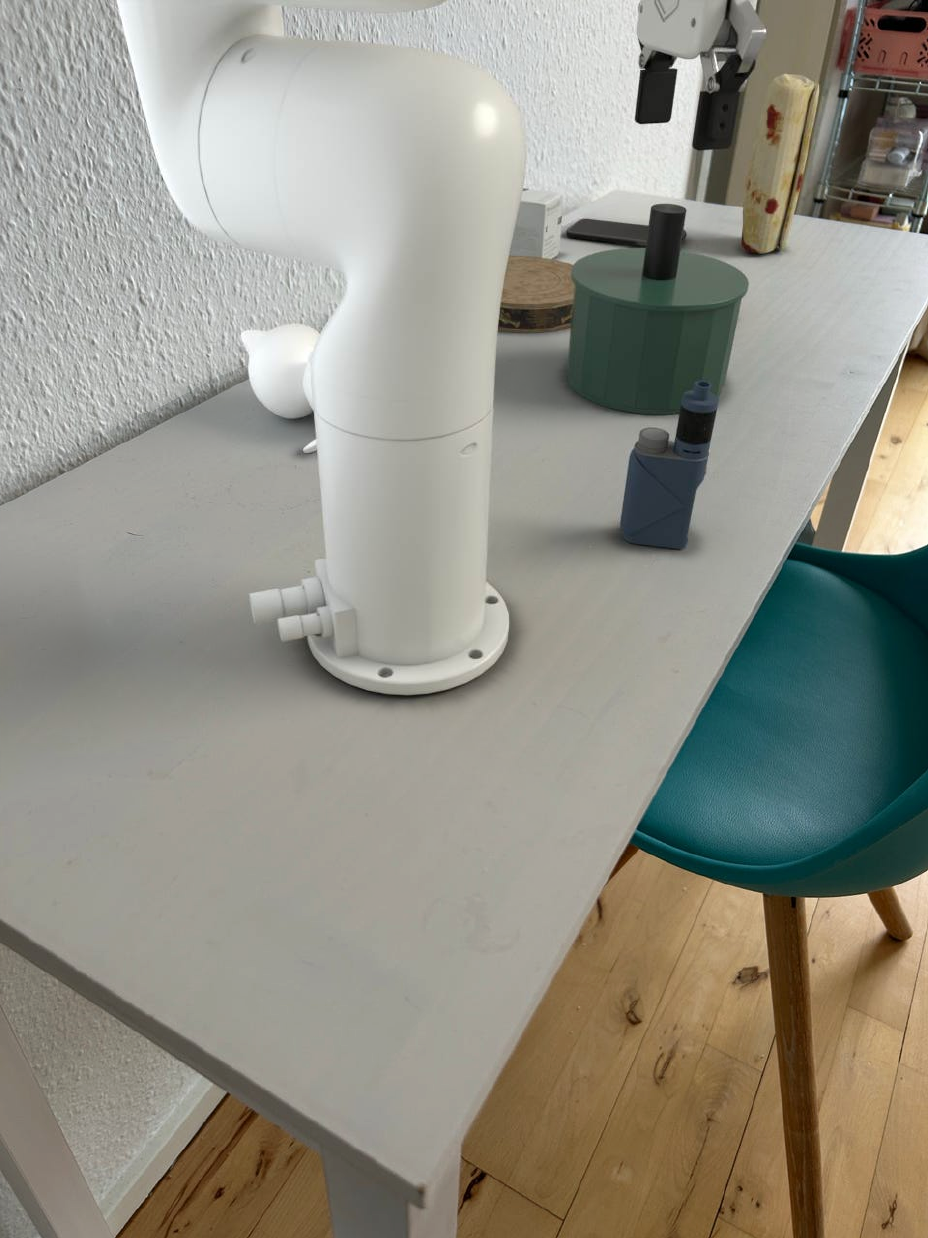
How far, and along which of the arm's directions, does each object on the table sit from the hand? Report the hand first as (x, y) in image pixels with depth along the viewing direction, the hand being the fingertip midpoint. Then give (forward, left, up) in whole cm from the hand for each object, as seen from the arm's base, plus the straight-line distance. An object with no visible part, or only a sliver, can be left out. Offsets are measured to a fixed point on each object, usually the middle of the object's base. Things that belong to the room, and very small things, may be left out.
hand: (680, 134), depth 78 cm
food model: (+34, +33, -21) cm, 52 cm away
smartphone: (+19, +42, -21) cm, 51 cm away
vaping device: (-12, -25, -21) cm, 35 cm away
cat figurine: (-32, 0, -21) cm, 39 cm away
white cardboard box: (+3, +38, -21) cm, 43 cm away
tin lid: (0, 0, -12) cm, 12 cm away
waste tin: (0, 0, -21) cm, 21 cm away
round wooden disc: (-4, +22, -21) cm, 31 cm away
